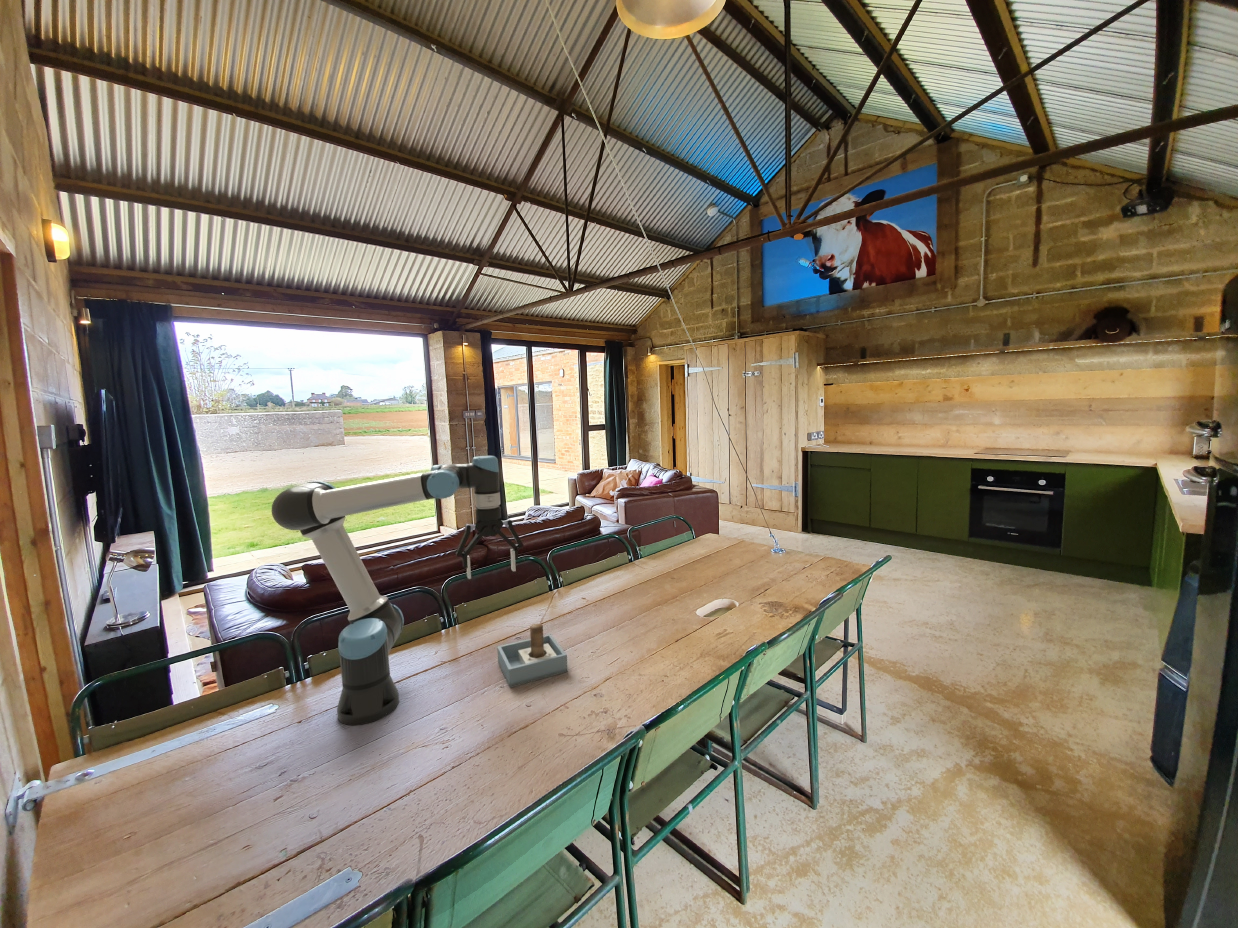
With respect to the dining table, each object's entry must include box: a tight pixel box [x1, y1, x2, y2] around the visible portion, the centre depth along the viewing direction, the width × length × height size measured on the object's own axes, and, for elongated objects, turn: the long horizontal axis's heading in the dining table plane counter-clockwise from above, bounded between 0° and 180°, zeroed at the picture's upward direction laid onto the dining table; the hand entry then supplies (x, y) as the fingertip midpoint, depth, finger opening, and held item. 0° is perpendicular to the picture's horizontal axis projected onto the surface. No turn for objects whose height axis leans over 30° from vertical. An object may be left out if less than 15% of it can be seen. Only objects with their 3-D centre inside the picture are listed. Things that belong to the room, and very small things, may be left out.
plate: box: [518, 643, 557, 664], centre depth 153 cm, size 10×10×3 cm
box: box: [496, 633, 568, 688], centre depth 152 cm, size 18×16×6 cm
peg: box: [529, 623, 544, 658], centre depth 152 cm, size 4×4×12 cm
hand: (491, 573), depth 149 cm, fingers open, 13 cm apart
